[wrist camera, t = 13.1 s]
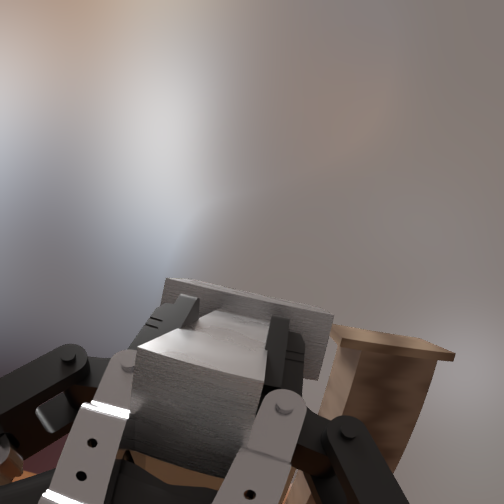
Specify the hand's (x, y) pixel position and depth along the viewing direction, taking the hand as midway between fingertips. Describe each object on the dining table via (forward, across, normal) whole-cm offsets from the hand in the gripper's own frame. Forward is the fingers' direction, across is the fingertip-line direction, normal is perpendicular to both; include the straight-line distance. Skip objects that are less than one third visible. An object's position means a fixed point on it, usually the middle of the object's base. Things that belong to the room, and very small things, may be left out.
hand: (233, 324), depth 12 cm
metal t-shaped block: (0, 0, -4) cm, 4 cm away
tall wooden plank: (-2, +14, -38) cm, 40 cm away
